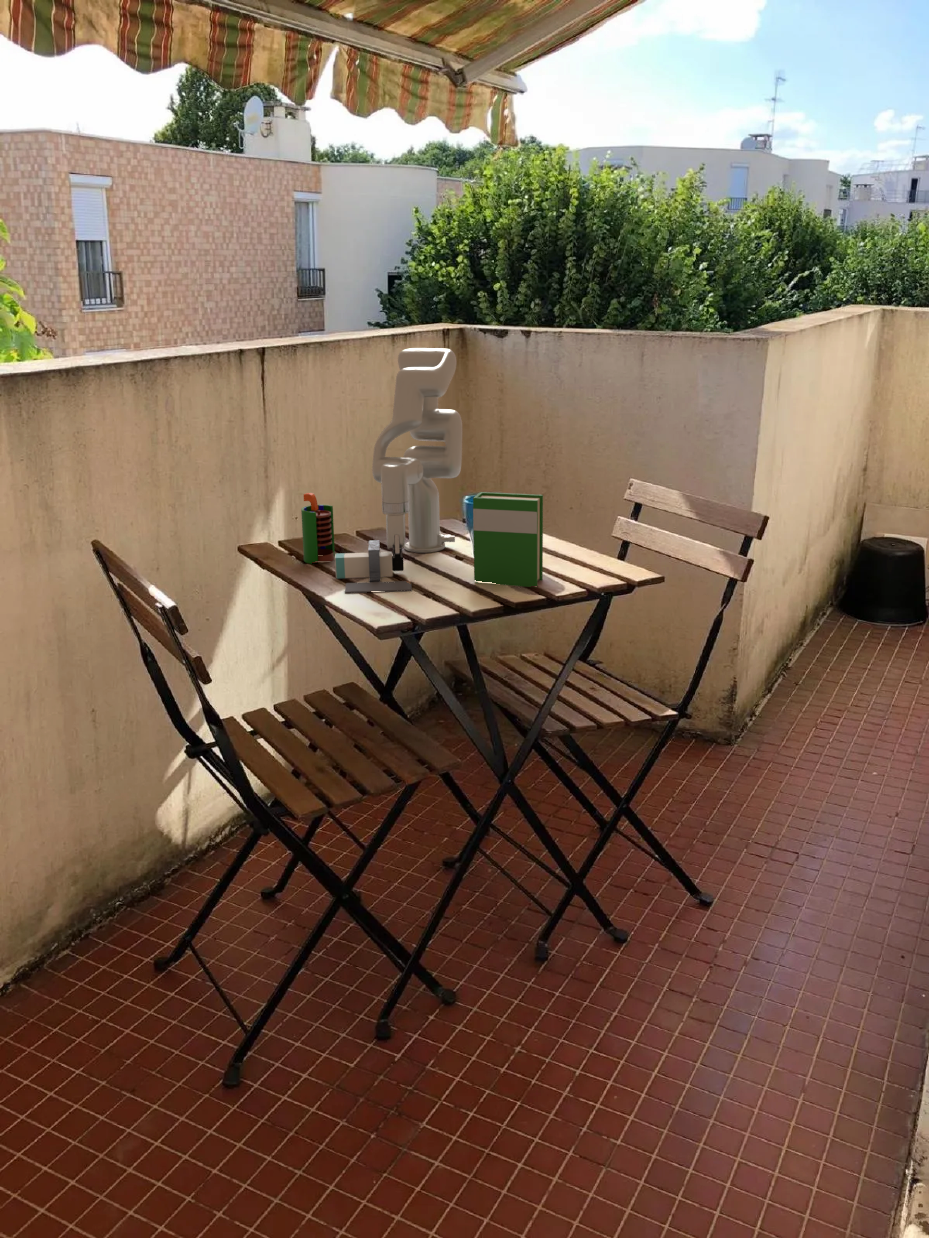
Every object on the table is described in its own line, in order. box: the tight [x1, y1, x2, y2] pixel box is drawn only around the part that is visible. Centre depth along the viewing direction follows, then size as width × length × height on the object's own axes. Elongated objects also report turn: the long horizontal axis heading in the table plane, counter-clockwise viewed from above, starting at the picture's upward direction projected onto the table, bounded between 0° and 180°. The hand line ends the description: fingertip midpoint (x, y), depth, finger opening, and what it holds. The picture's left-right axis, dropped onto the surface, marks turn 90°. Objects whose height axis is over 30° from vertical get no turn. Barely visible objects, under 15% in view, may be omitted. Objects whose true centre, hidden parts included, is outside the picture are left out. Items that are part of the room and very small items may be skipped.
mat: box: [344, 580, 413, 594], centre depth 301 cm, size 18×8×1 cm, turn 94°
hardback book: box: [472, 491, 544, 588], centre depth 301 cm, size 18×7×24 cm, turn 74°
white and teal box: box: [334, 551, 394, 579], centre depth 312 cm, size 16×4×6 cm, turn 94°
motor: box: [300, 492, 336, 565], centre depth 326 cm, size 10×9×20 cm
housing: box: [367, 539, 382, 582], centre depth 312 cm, size 3×16×9 cm, turn 4°
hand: (398, 570), depth 313 cm, fingers closed
